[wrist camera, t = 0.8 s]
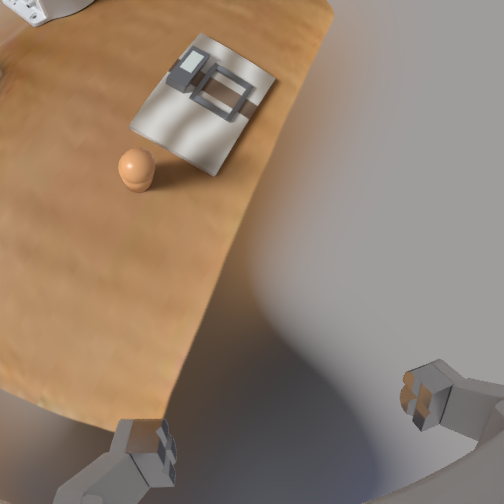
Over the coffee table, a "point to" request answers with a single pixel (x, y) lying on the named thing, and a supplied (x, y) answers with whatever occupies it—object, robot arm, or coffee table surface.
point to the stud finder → (187, 69)
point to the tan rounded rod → (137, 169)
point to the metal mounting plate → (204, 107)
